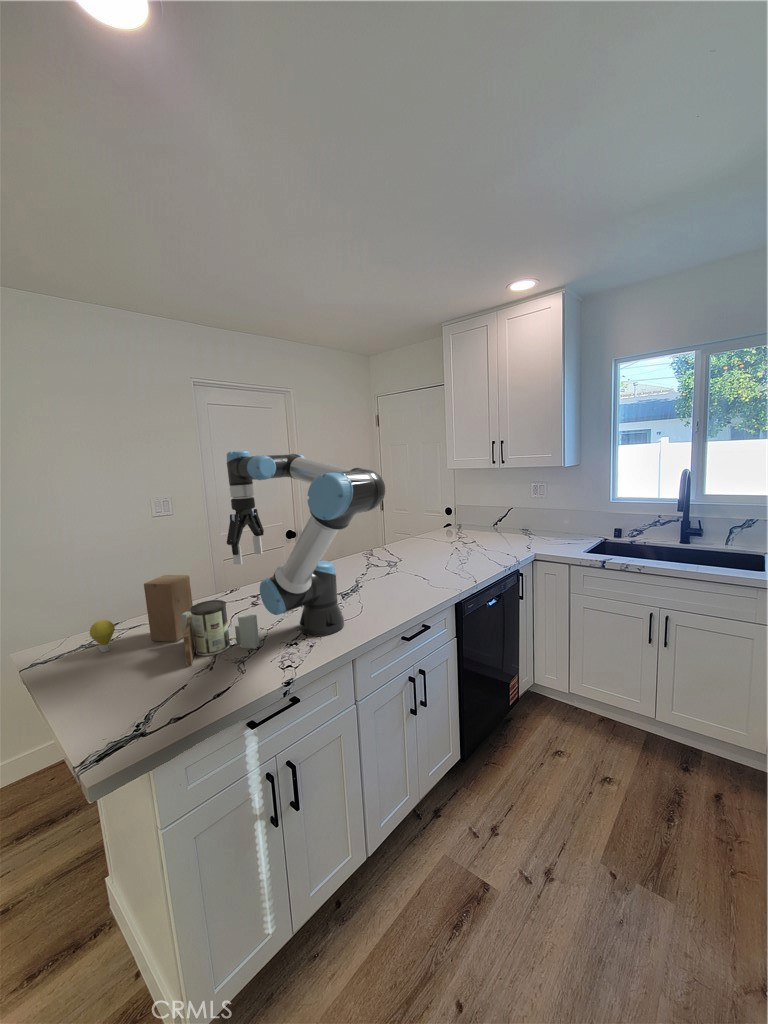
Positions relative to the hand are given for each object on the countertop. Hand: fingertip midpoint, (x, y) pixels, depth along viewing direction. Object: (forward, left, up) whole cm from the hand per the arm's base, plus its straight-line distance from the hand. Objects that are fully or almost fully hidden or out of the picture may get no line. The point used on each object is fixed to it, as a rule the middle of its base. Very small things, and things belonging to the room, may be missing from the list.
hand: (248, 558), depth 144 cm
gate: (+9, +21, -24) cm, 34 cm away
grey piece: (+4, +14, -25) cm, 29 cm away
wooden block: (+25, +10, -25) cm, 37 cm away
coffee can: (+5, +17, -25) cm, 30 cm away
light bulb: (+40, +23, -25) cm, 52 cm away
